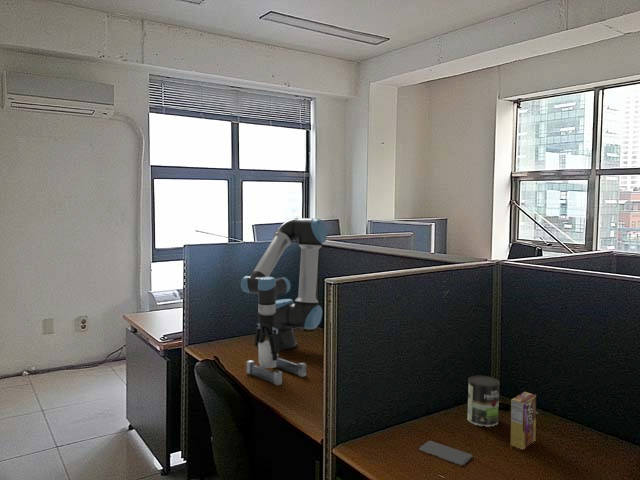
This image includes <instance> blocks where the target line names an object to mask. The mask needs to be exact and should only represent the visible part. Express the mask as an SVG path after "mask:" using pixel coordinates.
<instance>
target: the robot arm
mask: <svg viewBox="0 0 640 480" xmlns="http://www.w3.org/2000/svg"><path fill="white" fill-rule="evenodd" d="M327 239H328V229H327V225H326V223H325V221H324V220H323V219H320V218H315V217H314V218H306V217H304V218H302V217H301V218H300V217H299V218H298V217H295V218H294V217H293V218H291V219H287V220H286V221H285V222H283V223H281V225H279V227H278V228H276V230H275V231H274V232H273V235H272V241H271V242H270V243H269V245H268V246H267V249H266V250H265V251H264V253H263V255H262V256H261V258H260V259H259V261H258V263H257V264H256V266H255V268H253V269H254V270H253V271H252V273H251V274H250V275H245V276H244V277H242V278H241V282H240V288H241V290H242V291H243V292H245V293H249V294H257V296H258V297H257V300H258V301H257V304H258V308H257V309H258V311H257V313H258V315H257V316H258V319H257V320H258V323H256V324H255V326H254V327H255V335H254V347H256V348H257V355H258V357H257V358H258V364H259V365H260V360H259V350H258V343H259V342H260V343H263V342H264V341H269V343H270V346H271V351H272V352H271V353H270V368H269V369H275V368H277V367H276V360H277V354H278V353H280V352H281V350H291V349H293V348H295V347H297V339H296V336H295V332H294V328H297V329H298V328H299V329H306V330H314V329H316V328H317V327H318V326H319V325H320V323H321V321H322V317H323V309H322V306H320V305H319V300H318V299H317V297H316V295H317V294H316V293H317V280H318V278H317V277H318V265H319V262H318V261H319V252H320V251H319V250H320V249H321V248H322V246H323V244H324V243H326V240H327ZM293 242H298V246H299V247H300V249H301V251H300V262H299V263H300V264H299V279H298V280H299V282H298V292H297V293H298V295H297V297H296V298H295V299H294V300H293V299H292V298H283V299H277V297H280V296H284V295H286V294H287V293H289V291H290V290H291V287H292V286H291V282H290V280H289V279H288V278H287V277H278V278H275V277H273V276H270V275H271V273H272V272H273V270H274V268H275V267H276V265H277V264H278V262H279V260H280V258H281V256H282V255H283V253H284V252H285V250H286V248H288V247H289V246H291V244H292V243H293ZM266 338H267V339H266Z"/></svg>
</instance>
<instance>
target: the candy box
mask: <svg viewBox="0 0 640 480" xmlns="http://www.w3.org/2000/svg"><path fill="white" fill-rule="evenodd" d="M510 403H511V404H510V446H511V445H512V446H515V447H517V448H520V449H522V450H523V449H525V448H526V447H528V446H529V445H530V444H532V443H533V442H534V441H535V442H536V432H537V431H536V427H537V425H536V424H537V418H536V417H537V415H536V414H537V395H536V394H533V393H529V392H527V391H523V392H521V393H520V394H518V395H517V396H515V397H513V398H511V400H510ZM535 442H534V443H535ZM534 443H533V444H534ZM533 444H532V445H533ZM530 446H531V445H530ZM530 446H529V447H530ZM529 447H528V448H529ZM526 449H527V448H526ZM526 449H525V450H526Z"/></svg>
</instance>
